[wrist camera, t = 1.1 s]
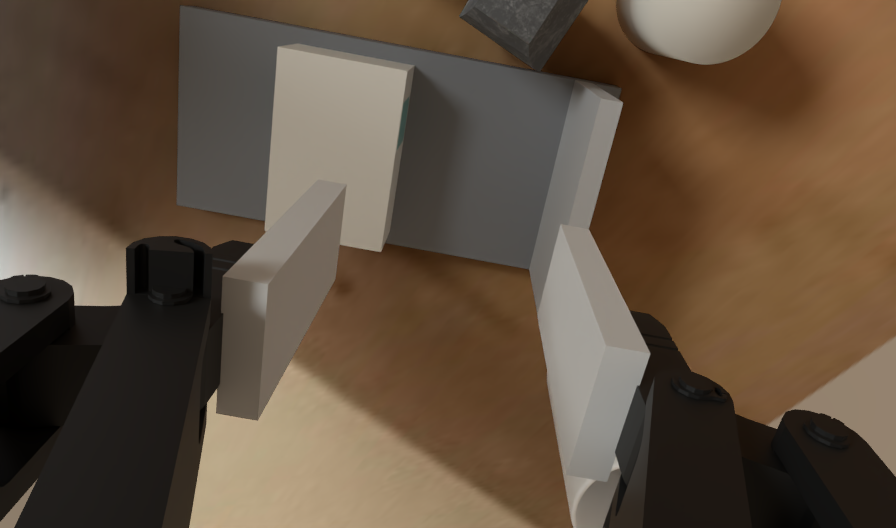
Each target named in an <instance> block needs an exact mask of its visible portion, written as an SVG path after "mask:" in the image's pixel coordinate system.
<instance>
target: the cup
mask: <svg viewBox="0 0 896 528" xmlns="http://www.w3.org/2000/svg"><path fill="white" fill-rule="evenodd" d="M547 386H548V391H549V397H550V403H551V408H552V414H553V420H554V425H555V431H556V437H557V442H558V448H559V454H560V459H561V465H562V471H563V476H564V482H565V488H566V493H567V499H568V504H569V510H570V515H571V521H572V525H573V528H603V525H604V522H605V519H606V516H607V513H608V510H609V507H610V504H611V502H612V499H613V496H614V493H615V490H616V487H617V484H618V481H619V478H620V476H621V471H620V468H619V464H618V461H617V458H616V457H615V460H614V463H613V466H612V469H611V472H610V475H609V478H608V481H607V482H603V481H598V480H592V479H586V478H581V477H575V476H569V475H566V470H565V465H564V459H563V454H562V448H561V443H560V437H559V432H558V426H557V421H556V415H555V410H554V405H553V399H552V394H551V388H550V383H549V377H548V372H547Z"/></svg>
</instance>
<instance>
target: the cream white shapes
mask: <svg viewBox="0 0 896 528" xmlns="http://www.w3.org/2000/svg"><path fill="white" fill-rule="evenodd" d="M780 4H781V0H617V2H616V8H617V16H618V21H619V24H620V26H621V28H622V31H623V32H624V34H625V35H626V37H627V38H628V39H629V40H630V41H631V42H632V43H633V44H634V45H635V46H636V47H638V48H640V49H641V50H644V51H646V52H649V53H652V54H656V55H661V56H665V57H669V58H673V59H677V60H682V61H686V62H690V63H694V64H702V65H709V64H718V63H722V62H726V61H729V60H731V59H734V58H736V57H738V56H740V55H742V54H743V53H745V52H746V51H748V50H749V49H750V48H752V47H753V46H754V45H755V44H756V43H757V42H758V41H759V40H760V39H761V38H762V37H763V36H764V35H765V34H766V32H767V31H768V29H769V28H770V26H771V25H772V23H773V21H774V19H775V17H776V15H777V12H778V10H779V7H780Z"/></svg>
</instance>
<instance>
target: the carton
mask: <svg viewBox="0 0 896 528" xmlns="http://www.w3.org/2000/svg"><path fill="white" fill-rule="evenodd" d="M414 67H415V65H410V64H404V63H399V62H394V61H388V60H383V59H378V58H372V57H367V56H362V55H356V54H351V53H346V52H340V51H335V50H330V49H324V48H319V47H314V46H308V45H303V44H298V43H297V44H291V45H285V46H279V47H278V48H277V62H276V76H275V90H274V104H273V118H272V132H271V146H270V160H269V174H268V188H267V202H266V216H265V230H264V231H268V230H269V229H270V228H271V227H272V226H273V225H274V224H275V223H276V222H277V221H278V220H279V219H280V218H281V217H282V215H283V214H284V213H285V212H286V211H287V210H288V209H289V208H290V207H291V206H292V205H293V204H294V203H295V202H296V201H297V200H298V199H299V198H300V197H301V196H302V195H303V194H304V193H305V192H306V191H307V190H308V189H309V188H310V187H311V186H312V185H313V184H314V183H315V182H316V181H317V180H324V181H329V182H335V183H340V184H346V185H347V186H346V195H345V203H344V211H343V220H342V228H341V237H340V245H344V246H349V247H355V248H360V249H366V250H371V251H377V252H381V251H382V249H383V246H384V244H385V241H386V239H387V237H388V234H389V232H390V227H391V220H392V214H393V207H394V200H395V193H396V187H397V180H398V173H399V167H400V160H401V153H402V147H403V140H404V133H405V127H406V120H407V113H408V107H409V100H410V93H411V87H412V80H413V73H414Z"/></svg>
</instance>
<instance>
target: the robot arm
mask: <svg viewBox="0 0 896 528" xmlns="http://www.w3.org/2000/svg"><path fill="white" fill-rule="evenodd" d="M346 186H347V185H346V184H340V183H335V182H329V181H324V180H317V181H316V182H315V183H314V184H313V185H312V186H311V187H310V188H309V189H308V190H307V191H306V192H305V193H304V194H303V195H302V196H301V197H300V198H299V199H298V200H297V201H296V202H295V203H294V204H293V205H292V206H291V207H290V208H289V209H288V210H287V211H286V212H285V213H284V214H283V215H282V217H281V218H280V219H279V220H278V221H277V222H276V223H275V224H274V225H273V226H272V227H271V228H270V229H269V230H268V231H267V232H266V233H265V234H264V235H263V236H262V237H261V238H260V239H259V240H258V241H257V242H256V243H255V244H250V243H245V242H239V241H234V240H232V241H229V242H226V243H223V244H220V245H217V246H214V247H213V248H212V249H211V248H210V247H209V246H208V245H206V244H205V243H203V242H200V241H197V240H194V239H190V238H183V237H176V236H159V237H151V238H144V239H142V240H139V241H136V242H133V243H132V244H130V245H129V246H128V247H127V248H126V272H127V295H126V297H125V299H124V301H123V303H122V305H121V306H74V292H73V288H72V286H71V285H70V284H68V283H67V282H65V281H63V280H59V279H56V278H52V277H43V276H38V275H26V276H24V275H18V276H13V277H11V278H8V279H3V280H0V521H1V520H2V519H3V518H4V517H5V516H6V514H7V513H8V512H9V511H10V510H11V509H12V507H13V506H14V505H15V504H16V503H17V502H18V501H19V500H20V498H21V497H22V496H23V495H24V494H25V492H26V491H27V490H28V489H29V488H30V487H31V486H32V485H33V483H34V482H35V481H36V480H37V479H38V480H37V482H36V484H35V486H34V488H33V490H32V492H31V494H30V496H29V498H28V501H27V502H26V505H25V507H24V509H23V511H22V513H21V515H20V517H19V519H18V521H17V523H16V525H15V527H14V528H189V525H190V519H191V512H192V506H193V500H194V494H195V488H196V482H197V476H198V470H199V464H200V458H201V452H202V446H203V440H204V434H205V428H206V415H207V402H208V400H209V399H210V397H211V396H212V395H213V393H214V392H215V390H216V389H217V408H216V413H218V414H223V415H229V416H235V417H240V418H246V419H252V420H257V421H258V419H259V417H260V416H261V414H262V412H263V410H264V408H265V406H266V405H267V403H268V401H269V399H270V397H271V396H272V394H273V392H274V390H275V388H276V386H277V385H278V383H279V381H280V379H281V377H282V376H283V374H284V372H285V370H286V368H287V366H288V365H289V363H290V361H291V359H292V357H293V356H294V354H295V352H296V350H297V348H298V346H299V345H300V343H301V341H302V339H303V337H304V336H305V334H306V332H307V330H308V328H309V326H310V325H311V323H312V321H313V319H314V317H315V315H316V314H317V312H318V310H319V308H320V306H321V305H322V303H323V301H324V299H325V297H326V295H327V294H328V292H329V290H330V288H331V286H332V285H333V283H334V281H335V279H336V270H337V262H338V253H339V245H340V237H341V228H342V220H343V211H344V203H345V195H346ZM537 317H538V323H539V328H540V334H541V339H542V345H543V350H544V355H545V361H546V366H547V372H548V377H549V383H550V388H551V394H552V399H553V405H554V410H555V415H556V421H557V426H558V432H559V437H560V443H561V448H562V454H563V459H564V465H565V470H566V475H569V476H575V477H581V478H586V479H592V480H598V481H603V482H607V481H608V478H609V475H610V472H611V469H612V466H613V463H614V460H615V457H616V458H617V461H618V464H619V468H620V471H621V476H620V478H619V481H618V484H617V487H616V490H615V493H614V496H613V499H612V502H611V504H610V507H609V510H608V513H607V516H606V519H605V522H604V525H603V528H896V477H895V476H894V475H893V473H892V472H891V471H890V470H889V469H888V467H887V466H886V465H885V464H884V463H883V461H882V460H881V459H880V458H879V456H878V455H877V454H876V453H875V452H874V451H873V449H872V448H871V447H870V446H869V445H868V443H867V442H866V441H865V440H863V439H862V438H861V437H860V436H859V435H858V434H857V433H856V432H854V431H853V430H851V429H850V428H848V427H847V426H845V425H844V423H842V422H841V421H839V420H837V419H835V418H833V419H831V417H830V416H827V415H825V414H822V413H821V414H818V413H814V412H811V411H805V410H791V411H787V412H786V413H785V414H784V416H783V418H782V421H781V422H780V424H779V427H778V429H775V428H772V427H769V426H766V425H764V424H761V423H758V422H755V421H752V420H749V419H747V418H744V417H742V416H739V415H737V414H735V410H734V404H733V400H732V398H731V396H730V394H729V393H728V392H727V391H726V390H724V389H723V388H722V387H721V386H720V385H719V384H717V383H715V382H714V381H712V380H710V379H708V378H707V377H704V376H702V375H699V374H697V373H694V372H691V370H690V368H689V367H688V365H687V363H686V362H685V360H684V358H683V357H682V355H681V353H680V351H678V348H677V346H676V345H675V343H674V341H672V338H671V336H670V334H669V333H668V331H667V329H666V327H665V326H664V325H662V324H661V323H660V322H659V321H657V320H656V319H655V318H654V317H652V316H651V315H650V314H646V313H640V312H635V311H629V309H628V307H627V305H626V303H625V301H624V299H623V297H622V295H621V293H620V291H619V289H618V287H617V285H616V283H615V281H614V279H613V277H612V275H611V273H610V271H609V269H608V267H607V265H606V263H605V261H604V259H603V257H602V255H601V253H600V251H599V249H598V247H597V245H596V243H595V241H594V239H593V237H592V235H591V232H590V230H589V229H585V228H580V227H574V226H569V225H563V224H560V228H559V232H558V236H557V240H556V244H555V248H554V252H553V256H552V260H551V264H550V267H549V271H548V275H547V279H546V283H545V287H544V291H543V295H542V299H541V303H540V307H539V311H538V315H537Z"/></svg>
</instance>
